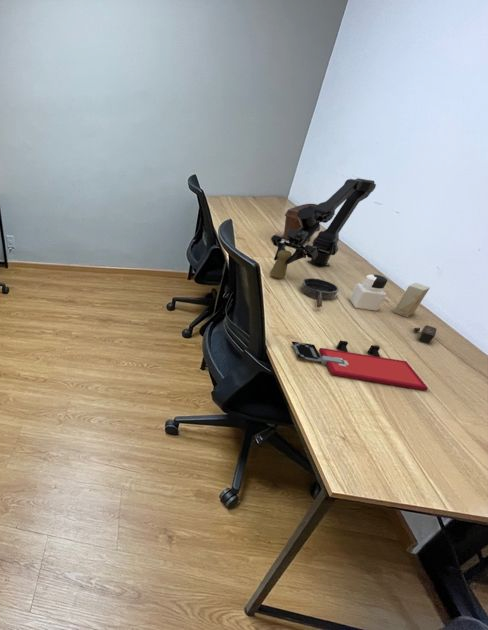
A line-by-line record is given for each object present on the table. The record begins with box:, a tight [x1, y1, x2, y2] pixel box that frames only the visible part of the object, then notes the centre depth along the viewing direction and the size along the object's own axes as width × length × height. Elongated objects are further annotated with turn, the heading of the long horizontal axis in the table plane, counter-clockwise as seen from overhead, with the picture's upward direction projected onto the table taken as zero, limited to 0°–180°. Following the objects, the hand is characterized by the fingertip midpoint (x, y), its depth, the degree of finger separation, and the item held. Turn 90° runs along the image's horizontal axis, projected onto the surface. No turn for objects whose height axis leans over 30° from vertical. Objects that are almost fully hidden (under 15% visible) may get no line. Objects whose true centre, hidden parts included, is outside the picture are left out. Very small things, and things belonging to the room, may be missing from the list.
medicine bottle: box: [349, 273, 388, 312], centre depth 126 cm, size 7×7×12 cm
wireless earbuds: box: [413, 324, 438, 344], centre depth 111 cm, size 5×7×3 cm, turn 133°
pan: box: [299, 277, 340, 301], centre depth 137 cm, size 12×12×4 cm
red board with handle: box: [291, 340, 429, 392], centre depth 100 cm, size 30×3×15 cm
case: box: [283, 203, 321, 241], centre depth 186 cm, size 18×20×18 cm
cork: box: [269, 249, 293, 279], centre depth 146 cm, size 6×6×11 cm
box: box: [393, 282, 431, 318], centre depth 121 cm, size 5×4×11 cm
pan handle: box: [316, 291, 323, 308], centre depth 128 cm, size 12×2×2 cm, turn 147°
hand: (279, 262), depth 145 cm, fingers closed on cork, 5 cm apart
